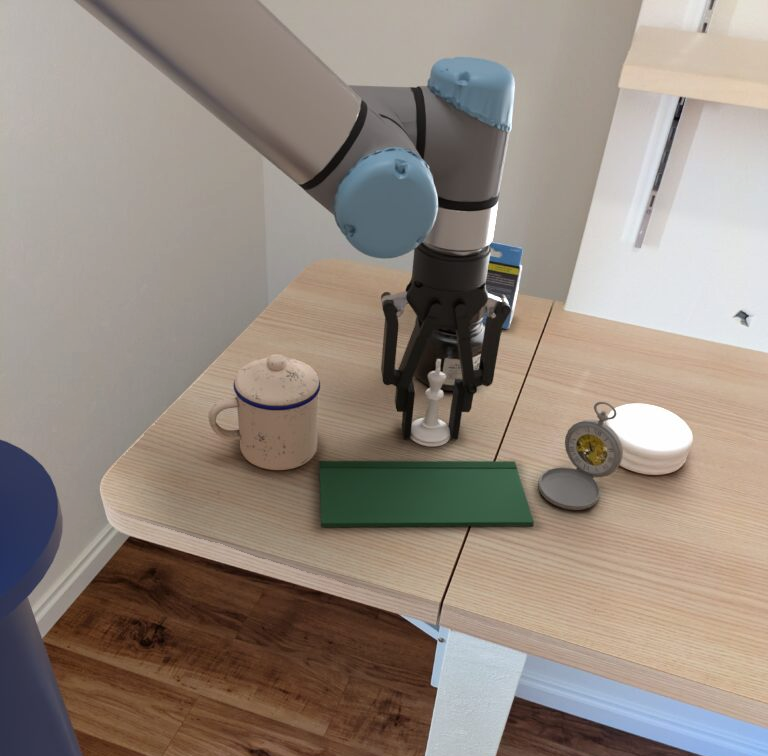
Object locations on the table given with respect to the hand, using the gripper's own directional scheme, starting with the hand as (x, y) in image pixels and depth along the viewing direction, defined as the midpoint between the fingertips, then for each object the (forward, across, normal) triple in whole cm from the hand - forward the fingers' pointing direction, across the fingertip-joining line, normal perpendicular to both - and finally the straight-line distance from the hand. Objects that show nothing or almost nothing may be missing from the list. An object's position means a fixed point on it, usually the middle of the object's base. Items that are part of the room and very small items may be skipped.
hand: (429, 431), depth 94 cm
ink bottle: (0, -4, -13) cm, 14 cm away
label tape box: (+1, -11, -28) cm, 30 cm away
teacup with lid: (0, +19, +3) cm, 19 cm away
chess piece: (0, 0, 0) cm, 0 cm away
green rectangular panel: (0, +2, +11) cm, 11 cm away
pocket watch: (+1, -15, +10) cm, 18 cm away
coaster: (+1, -25, +3) cm, 25 cm away
